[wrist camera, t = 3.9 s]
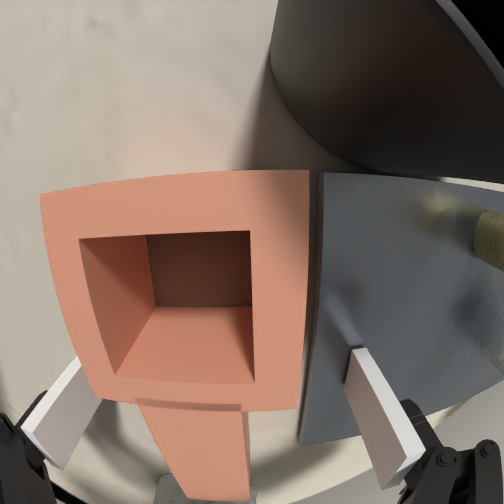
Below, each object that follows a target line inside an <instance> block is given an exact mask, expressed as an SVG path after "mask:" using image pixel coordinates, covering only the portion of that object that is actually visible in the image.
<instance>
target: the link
mask: <svg viewBox="0 0 504 504" xmlns="http://www.w3.org/2000/svg"><path fill="white" fill-rule="evenodd" d="M40 204H41V214H42V222H43V229H44V236H45V242H46V248H47V253H48V258H49V263H50V268H51V272H52V277H53V281H54V285H55V289H56V292H57V296H58V300H59V303H60V307H61V310H62V313H63V317H64V320H65V323H66V326H67V329H68V332H69V334H70V337H71V340H72V343H73V345H74V348H75V351H76V353H77V356H78V358H79V361H80V363H81V365H82V368H83V370H84V372H85V375H86V377H87V379H88V381H89V384H90V386H91V388H92V390H93V392H94V394H95V396H96V397H99V398H103V399H108V400H113V401H119V402H124V403H130V404H137V405H138V406H139V408H140V410H141V413H142V415H143V417H144V419H145V422H146V424H147V426H148V428H149V430H150V432H151V434H152V436H153V438H154V440H155V442H156V444H157V446H158V448H159V450H160V452H161V454H162V456H163V458H164V459H165V461H166V463H167V465H168V467H169V468H170V470H171V472H172V474H173V475H174V477H175V479H176V480H177V482H178V483H179V485H180V487H181V488H182V490H183V491H184V493H185V495H186V496H187V498H189V499H199V500H211V501H234V502H251V500H250V437H249V422H248V412H249V411H274V410H288V409H297V403H298V395H299V386H300V376H301V366H302V355H303V343H304V330H305V316H306V300H307V280H308V255H309V170H241V171H219V172H202V173H188V174H176V175H165V176H155V177H146V178H138V179H130V180H122V181H115V182H108V183H101V184H95V185H89V186H83V187H77V188H72V189H67V190H61V191H56V192H52V193H47V194H42V195H40ZM242 230H250V249H251V282H252V306H232V307H157V304H156V299H155V293H154V287H153V281H152V274H151V267H150V260H149V253H148V244H147V236H146V235H148V234H167V233H189V232H214V231H242Z"/></svg>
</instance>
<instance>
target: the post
mask: <svg viewBox="0 0 504 504" xmlns="http://www.w3.org/2000/svg"><path fill="white" fill-rule="evenodd" d="M473 247H474V252H475V254H476V256H477V258H478V259H479V260H481V261H483V262H485V263H487V264H489V265H491V266H493V267H495V268H497V269H499V270H501V271H503V272H504V214H502V213H499V212H495V211H491V210H489V211H486V212H484V213H483V214H482V215H481V217H480V218H479V220H478V222H477V224H476V227H475V231H474V238H473Z"/></svg>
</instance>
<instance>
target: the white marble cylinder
mask: <svg viewBox="0 0 504 504" xmlns="http://www.w3.org/2000/svg"><path fill="white" fill-rule="evenodd" d="M157 484H158V486H157V490H156V495H155V499H154V504H256V496H257V493H256V490H255V489H254V488H253V487H251V486H250V500H251V502H234V501H211V500H199V499H189V498H187V496H186V495H185V493H184V491H183V490H182V488H181V487H180V485H179V483H178V482H177V480H176V479H175V477H174V475H173V474H172V473H171V474H166V475H163V476H161V477H160V478H159V479H158V482H157Z"/></svg>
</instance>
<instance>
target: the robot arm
mask: <svg viewBox="0 0 504 504" xmlns="http://www.w3.org/2000/svg"><path fill="white" fill-rule="evenodd" d="M344 392H345V394H346V397H347V399H348V402H349V404H350V407H351V409H352V412H353V415H354V417H355V420H356V422H357V425H358V427H359V430H360V433H361V435H362V438H363V440H364V443H365V446H366V448H367V451H368V454H369V456H370V459H371V462H372V465H373V467H374V470H375V473H376V475H377V478H378V481H379V484H380V487H381V490H384V489H387V488H390V487H393V486H396V485H399V484H400V482H401V481H402V480H403V479H405V482H406V484H407V485H406V486H405V487H404V488H403V489H402V490H401V492H400V493H399V494H402V495H401V497H400V499H399V501H398V503H397V504H503V479H502V467H501V456H500V449H499V446H498V445H497V444H496V442H494V441H492V440H487V439H486V440H482V441H481V442H479V443H478V444H477V445H476V447H475V448H474V449H470V450H465V451H456V450H455V449H453V448H451V447H444V446H443V445H442V444H441V442H440V441H439V439H438V437H437V436H436V434H435V432H434V431H433V429H432V427H431V426H430V424H429V422H428V421H427V419H426V417H425V416H424V415H423V413H422V411H421V410H420V408H419V406H418V405H417V404H416V403H414V402H413V401H412V400H410V399H405V400H402V401H398V399H397V398H396V396H395V394H394V393H393V391H392V389H391V387H390V386H389V384H388V382H387V381H386V379H385V377H384V376H383V374H382V373H381V371H380V369H379V368H378V366H377V364H376V363H375V361H374V359H373V358H372V356H371V355H370V353H369V351H368V350H367V348H361V349H353V350H352V352H351V357H350V363H349V367H348V372H347V377H346V382H345V386H344ZM102 399H103V398H99V397H96V396H95V394H94V392H93V390H92V388H91V386H90V384H89V381H88V379H87V377H86V375H85V372H84V370H83V368H82V365H81V363H80V361H79V358H78V356H76V358H75V359H74V360H73V361H72V362H71V363H70V365H69V366H68V367H67V368H66V369H65V371H64V372H63V373H62V374H61V376H60V377H59V378H58V379H57V380H56V382H55V383H54V384H53V385H52V387H51V388H50V389H49V390H48V391H47V390H46V391H44V392H43V393H41V394H40V395H38V397H37V398H36V399H35V400H34V403H32V404H31V406H30V408H28V409H27V411H26V412H25V413H24V415H23V416H22V417H21V419H20V420H19V421H18V423H17V424H16V425H15V426H14V425H13V424H12V422H11V421H10V420H9V418H8V417H7V416H6V414H4V413H0V504H57V502H56V499H55V496H54V493H53V490H52V486H51V483H50V479H49V475H48V471H47V467H46V465H45V463H44V462H43V461H44V459H45V458H46V459H47V460H48V461H49V463H50V464H51V465H53V466H55V467H57V468H59V469H61V470H64V468H65V466H66V464H67V462H68V461H69V459H70V457H71V455H72V453H73V451H74V449H75V447H76V445H77V444H78V442H79V440H80V438H81V436H82V434H83V433H84V431H85V429H86V427H87V425H88V424H89V422H90V420H91V418H92V417H93V415H94V413H95V411H96V410H97V408H98V406H99V404H100V403H101V401H102Z"/></svg>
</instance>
